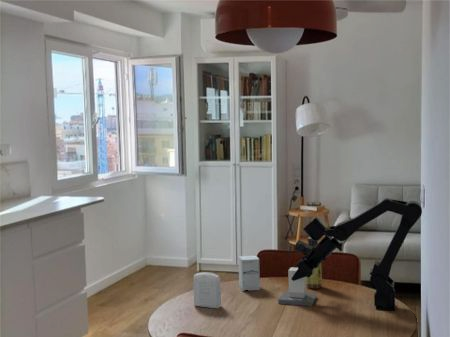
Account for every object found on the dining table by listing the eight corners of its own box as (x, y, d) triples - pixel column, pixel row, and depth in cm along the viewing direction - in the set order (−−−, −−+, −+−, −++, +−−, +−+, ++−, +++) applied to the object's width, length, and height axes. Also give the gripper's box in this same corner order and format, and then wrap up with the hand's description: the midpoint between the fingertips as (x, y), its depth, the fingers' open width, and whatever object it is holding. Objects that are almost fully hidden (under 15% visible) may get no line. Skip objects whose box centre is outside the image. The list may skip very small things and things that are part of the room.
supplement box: (241, 291, 209) (241, 260, 208) (239, 286, 216) (238, 255, 215) (260, 290, 210) (259, 258, 209) (256, 285, 217) (256, 254, 216)
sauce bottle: (322, 289, 208) (321, 239, 207) (306, 289, 209) (304, 239, 208) (321, 284, 215) (320, 236, 213) (306, 284, 216) (305, 236, 214)
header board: (316, 297, 198) (316, 289, 198) (311, 306, 189) (311, 297, 189) (284, 295, 203) (284, 287, 202) (278, 303, 193) (278, 295, 193)
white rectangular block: (306, 294, 197) (305, 268, 196) (303, 298, 193) (303, 271, 192) (291, 293, 199) (290, 267, 198) (289, 297, 195) (288, 270, 194)
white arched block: (223, 305, 193) (221, 272, 192) (218, 309, 189) (217, 275, 188) (197, 302, 197) (196, 270, 196) (192, 306, 193) (191, 273, 192)
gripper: (311, 229, 202) (283, 256, 206) (301, 238, 184) (271, 268, 188) (332, 250, 199) (304, 277, 204) (325, 262, 182) (294, 291, 186)
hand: (293, 278), depth 196 cm, fingers closed on white rectangular block, 4 cm apart
